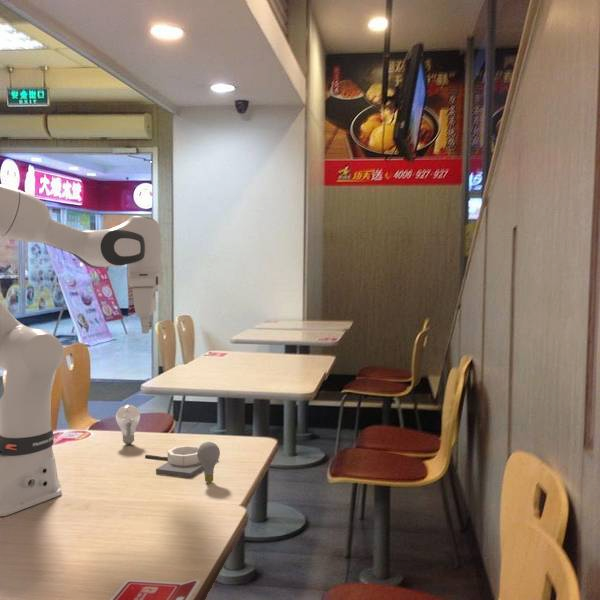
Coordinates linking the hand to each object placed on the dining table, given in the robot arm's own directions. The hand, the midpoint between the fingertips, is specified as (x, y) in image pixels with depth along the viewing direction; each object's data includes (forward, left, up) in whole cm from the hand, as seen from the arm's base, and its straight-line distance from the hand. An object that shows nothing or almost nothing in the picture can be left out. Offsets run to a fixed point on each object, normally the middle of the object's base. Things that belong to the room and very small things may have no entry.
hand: (147, 331), depth 164 cm
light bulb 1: (+14, +17, -36) cm, 42 cm away
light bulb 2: (-7, -21, -36) cm, 43 cm away
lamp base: (+2, -5, -36) cm, 36 cm away
